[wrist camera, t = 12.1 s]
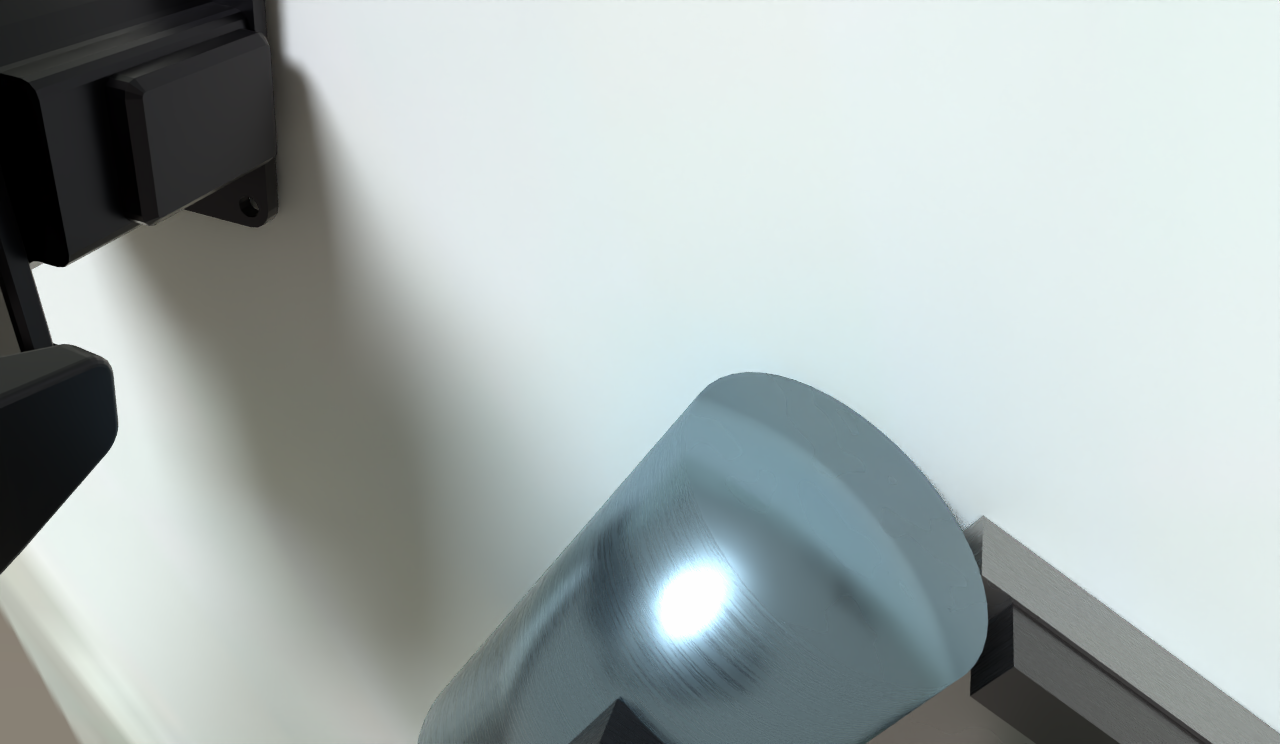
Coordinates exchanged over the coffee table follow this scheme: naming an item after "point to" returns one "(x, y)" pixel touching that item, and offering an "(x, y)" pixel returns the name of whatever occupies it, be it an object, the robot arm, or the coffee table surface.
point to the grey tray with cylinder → (812, 610)
